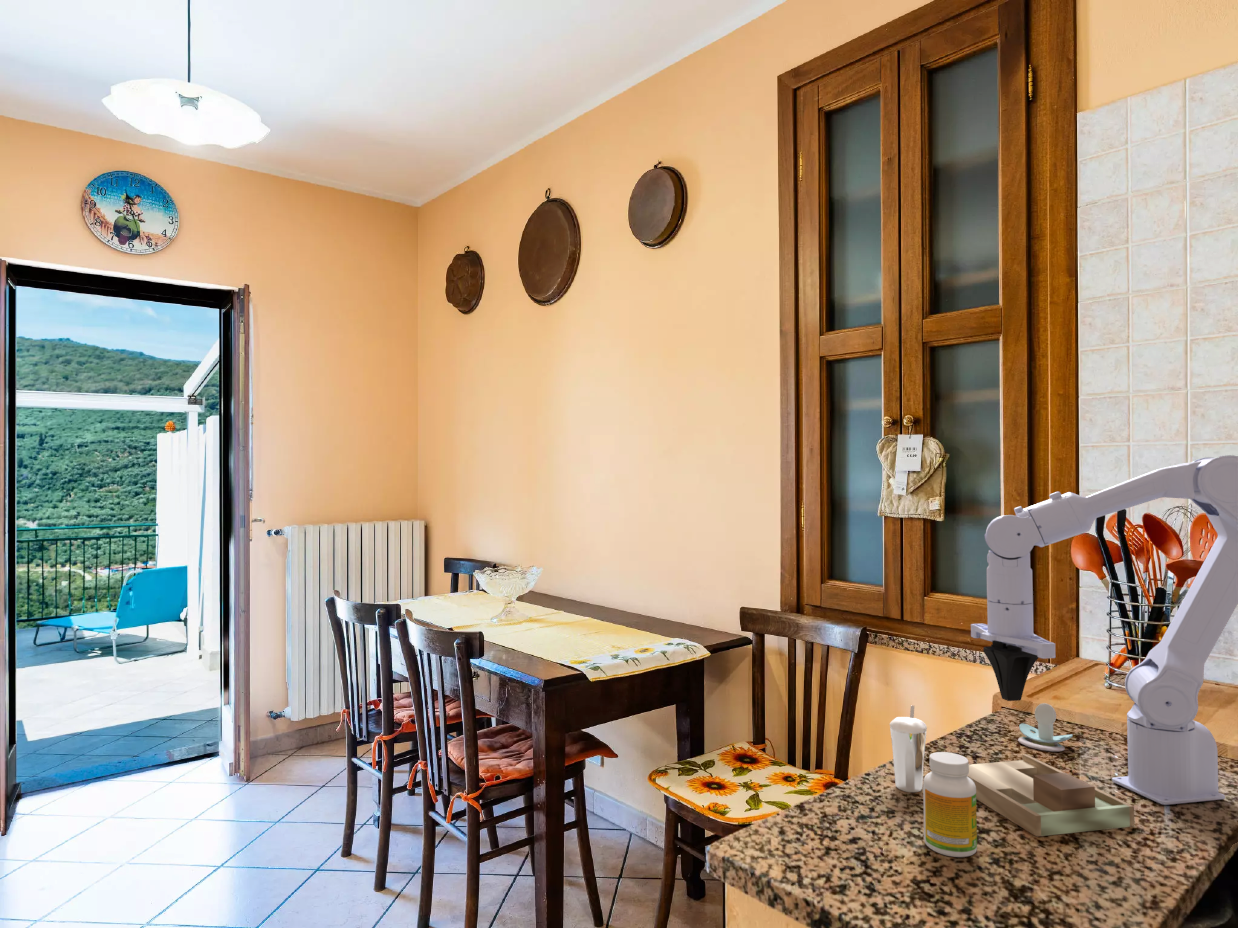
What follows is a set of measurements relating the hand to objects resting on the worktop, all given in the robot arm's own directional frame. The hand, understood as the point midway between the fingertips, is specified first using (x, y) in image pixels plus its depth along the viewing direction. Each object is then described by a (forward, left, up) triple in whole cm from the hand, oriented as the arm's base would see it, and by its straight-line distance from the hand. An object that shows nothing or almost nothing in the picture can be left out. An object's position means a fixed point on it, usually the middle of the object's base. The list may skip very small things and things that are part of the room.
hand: (1011, 699), depth 106 cm
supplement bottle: (+22, +18, -10) cm, 30 cm away
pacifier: (-12, -8, -10) cm, 18 cm away
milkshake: (+17, +2, -10) cm, 20 cm away
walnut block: (+5, +15, -8) cm, 17 cm away
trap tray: (+5, +9, -10) cm, 14 cm away
